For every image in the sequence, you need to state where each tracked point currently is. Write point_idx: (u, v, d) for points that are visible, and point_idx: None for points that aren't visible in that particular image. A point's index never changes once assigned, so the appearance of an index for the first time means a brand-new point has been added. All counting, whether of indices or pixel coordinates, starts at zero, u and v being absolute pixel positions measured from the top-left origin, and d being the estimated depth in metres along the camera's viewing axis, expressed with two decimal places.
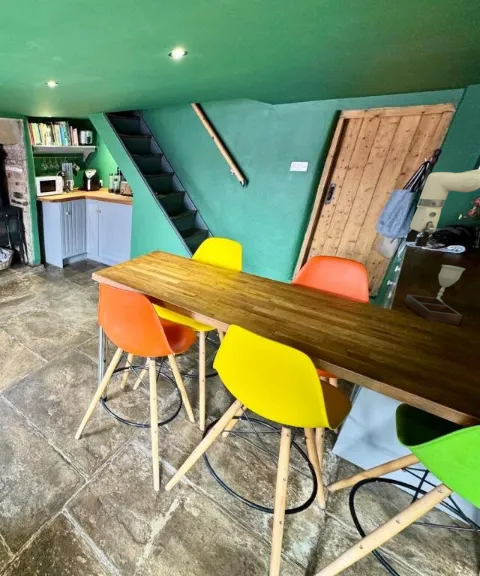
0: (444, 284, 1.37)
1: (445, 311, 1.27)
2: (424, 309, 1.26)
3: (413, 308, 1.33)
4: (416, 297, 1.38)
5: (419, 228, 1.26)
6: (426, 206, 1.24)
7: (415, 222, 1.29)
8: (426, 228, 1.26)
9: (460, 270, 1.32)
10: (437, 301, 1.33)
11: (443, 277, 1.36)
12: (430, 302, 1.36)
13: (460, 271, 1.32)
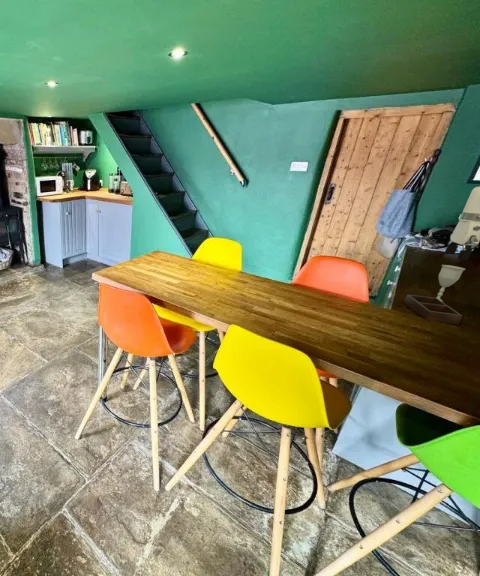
0: (444, 284, 1.37)
1: (445, 311, 1.27)
2: (424, 309, 1.26)
3: (413, 308, 1.33)
4: (416, 297, 1.38)
5: (462, 241, 1.27)
6: (470, 220, 1.25)
7: (457, 235, 1.30)
8: (469, 241, 1.27)
9: (460, 270, 1.32)
10: (437, 301, 1.33)
11: (443, 277, 1.36)
12: (430, 302, 1.36)
13: (460, 271, 1.32)
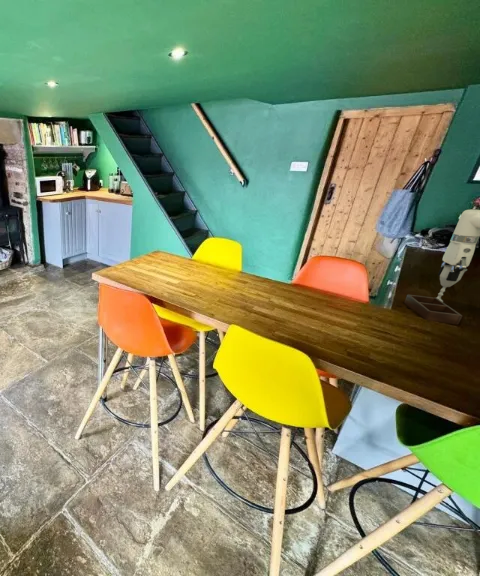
0: (445, 284, 1.36)
1: (445, 311, 1.27)
2: (424, 309, 1.26)
3: (413, 308, 1.33)
4: (416, 297, 1.38)
5: (453, 262, 1.31)
6: (460, 242, 1.28)
7: (448, 256, 1.34)
8: (459, 263, 1.31)
9: (462, 271, 1.31)
10: (437, 301, 1.33)
11: (444, 278, 1.35)
12: (430, 302, 1.36)
13: (462, 272, 1.31)
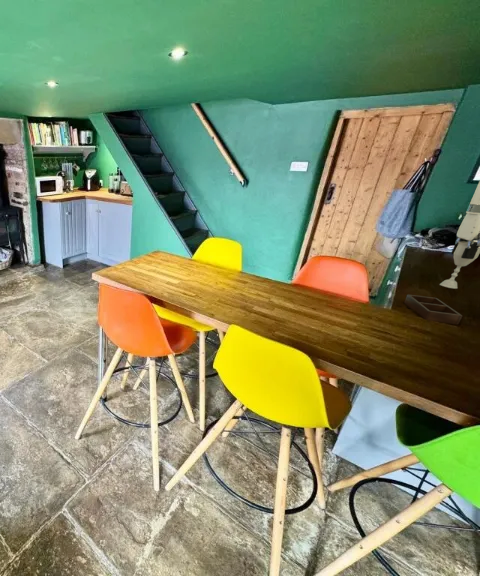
0: (459, 263, 1.19)
1: (445, 311, 1.27)
2: (424, 309, 1.26)
3: (413, 308, 1.33)
4: (416, 297, 1.38)
5: (469, 237, 1.13)
6: (478, 212, 1.11)
7: (464, 230, 1.16)
8: (476, 237, 1.13)
9: None
10: (437, 301, 1.33)
11: (459, 255, 1.18)
12: (430, 302, 1.36)
13: None
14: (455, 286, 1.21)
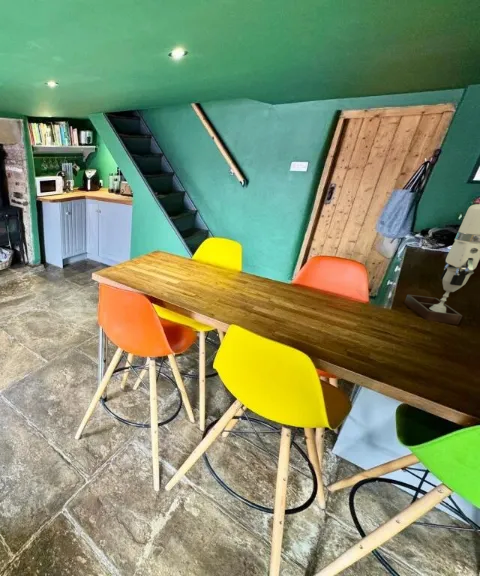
0: (448, 289, 1.21)
1: None
2: (424, 309, 1.26)
3: (413, 308, 1.33)
4: (416, 297, 1.38)
5: (458, 264, 1.15)
6: (466, 241, 1.13)
7: (452, 257, 1.18)
8: None
9: (468, 274, 1.16)
10: (437, 301, 1.33)
11: (448, 281, 1.20)
12: (430, 302, 1.36)
13: (468, 275, 1.16)
14: (444, 311, 1.23)
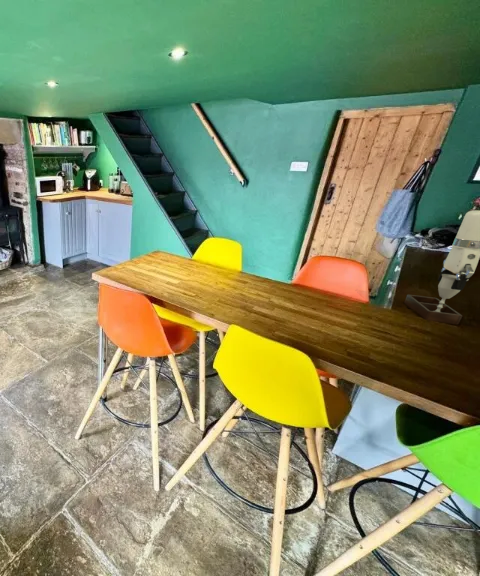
0: (444, 296, 1.23)
1: (445, 311, 1.27)
2: (424, 309, 1.26)
3: (413, 308, 1.33)
4: (416, 297, 1.38)
5: (455, 270, 1.16)
6: (464, 247, 1.14)
7: (450, 262, 1.19)
8: (463, 270, 1.16)
9: None
10: (437, 301, 1.33)
11: (443, 288, 1.22)
12: (430, 302, 1.36)
13: None
14: None
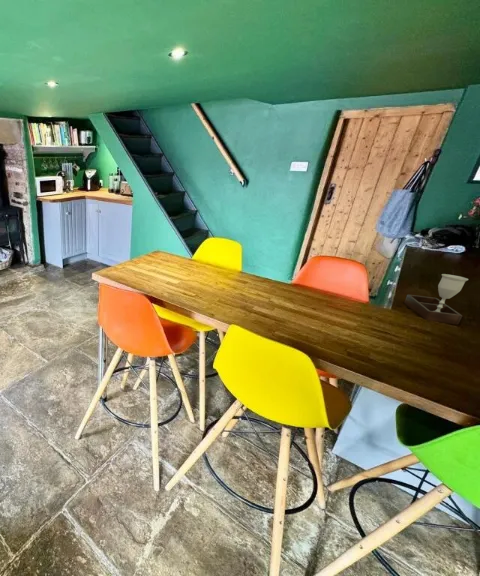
0: (444, 296, 1.23)
1: (445, 311, 1.27)
2: (424, 309, 1.26)
3: (413, 308, 1.33)
4: (416, 297, 1.38)
5: None
6: None
7: None
8: None
9: (462, 280, 1.18)
10: (437, 301, 1.33)
11: (443, 288, 1.22)
12: (430, 302, 1.36)
13: (462, 282, 1.18)
14: None
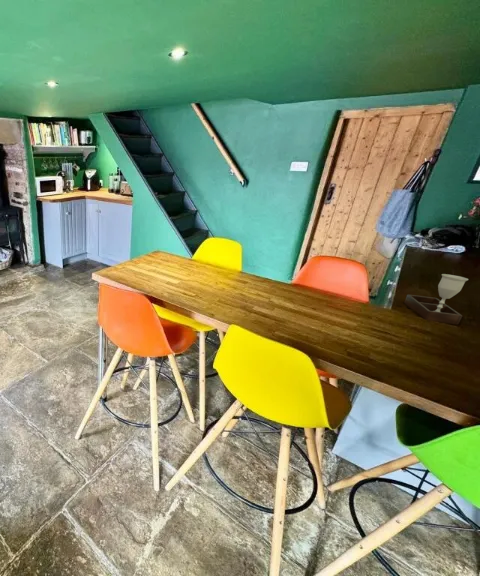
0: (444, 296, 1.23)
1: (445, 311, 1.27)
2: (424, 309, 1.26)
3: (413, 308, 1.33)
4: (416, 297, 1.38)
5: None
6: None
7: None
8: None
9: (462, 280, 1.18)
10: (437, 301, 1.33)
11: (443, 288, 1.22)
12: (430, 302, 1.36)
13: (462, 282, 1.18)
14: None
